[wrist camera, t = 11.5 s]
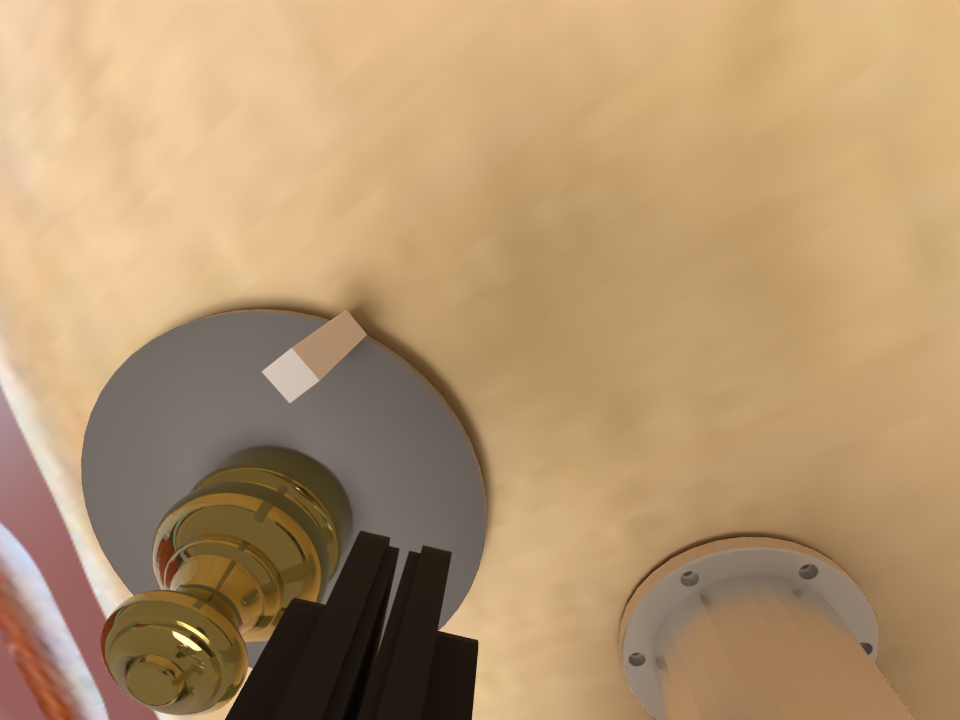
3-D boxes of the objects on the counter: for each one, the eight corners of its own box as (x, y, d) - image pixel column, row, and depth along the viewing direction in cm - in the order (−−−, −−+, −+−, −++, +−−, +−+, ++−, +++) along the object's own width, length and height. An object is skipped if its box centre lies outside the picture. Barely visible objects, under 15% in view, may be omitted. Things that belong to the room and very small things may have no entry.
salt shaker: (254, 413, 26) (100, 545, 17) (384, 506, 27) (309, 682, 17) (178, 518, 28) (2, 690, 19) (302, 602, 29) (194, 806, 20)
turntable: (568, 549, 28) (581, 660, 21) (280, 717, 33) (219, 849, 26) (297, 216, 24) (213, 228, 18) (14, 461, 29) (-134, 542, 22)
